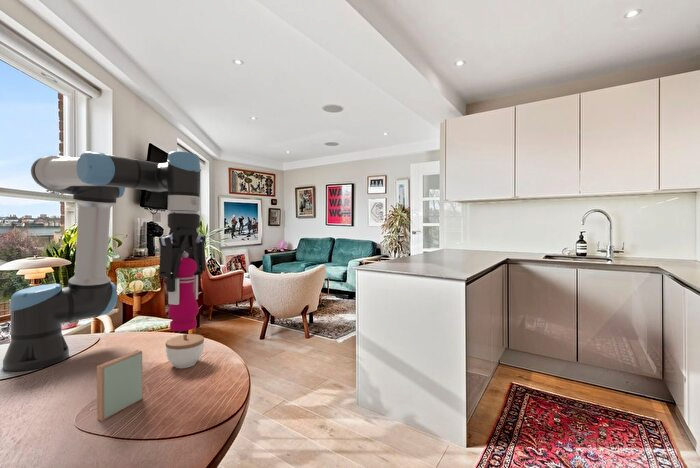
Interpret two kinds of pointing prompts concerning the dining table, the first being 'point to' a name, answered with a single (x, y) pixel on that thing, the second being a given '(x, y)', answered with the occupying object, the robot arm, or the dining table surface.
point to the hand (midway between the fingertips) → (183, 301)
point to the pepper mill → (185, 297)
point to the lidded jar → (184, 350)
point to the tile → (119, 384)
